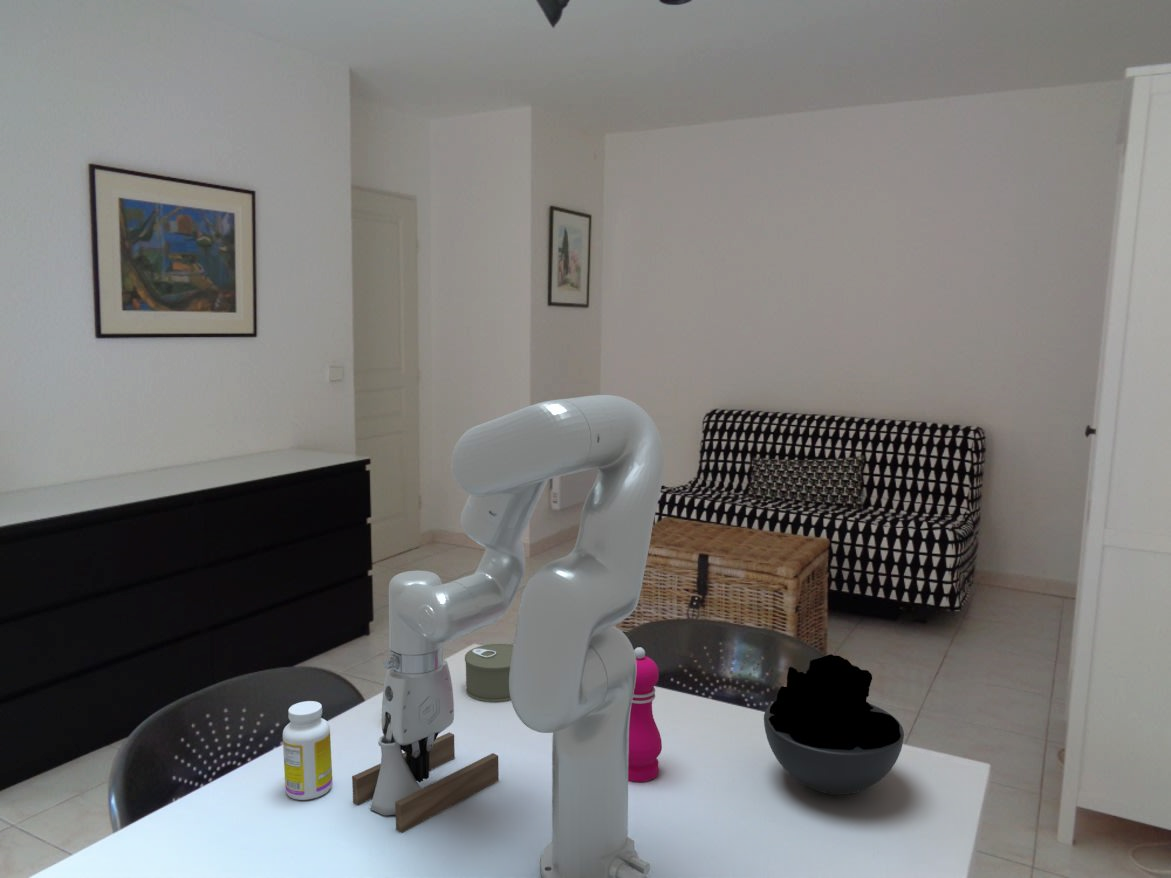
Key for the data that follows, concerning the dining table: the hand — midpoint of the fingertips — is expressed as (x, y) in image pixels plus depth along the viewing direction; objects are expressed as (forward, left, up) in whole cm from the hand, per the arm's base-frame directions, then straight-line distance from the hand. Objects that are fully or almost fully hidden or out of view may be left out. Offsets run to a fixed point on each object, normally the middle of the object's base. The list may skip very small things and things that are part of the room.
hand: (418, 776), depth 125 cm
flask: (0, +4, -2) cm, 4 cm away
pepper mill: (-21, -26, -3) cm, 33 cm away
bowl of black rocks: (-45, -42, -3) cm, 61 cm away
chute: (-1, -1, -3) cm, 3 cm away
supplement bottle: (+13, +10, -3) cm, 17 cm away
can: (+18, -33, -3) cm, 37 cm away
